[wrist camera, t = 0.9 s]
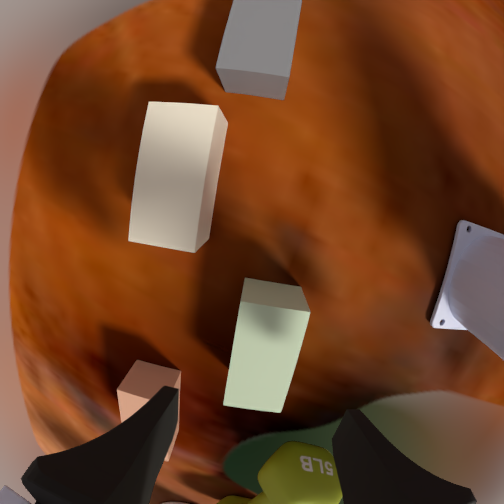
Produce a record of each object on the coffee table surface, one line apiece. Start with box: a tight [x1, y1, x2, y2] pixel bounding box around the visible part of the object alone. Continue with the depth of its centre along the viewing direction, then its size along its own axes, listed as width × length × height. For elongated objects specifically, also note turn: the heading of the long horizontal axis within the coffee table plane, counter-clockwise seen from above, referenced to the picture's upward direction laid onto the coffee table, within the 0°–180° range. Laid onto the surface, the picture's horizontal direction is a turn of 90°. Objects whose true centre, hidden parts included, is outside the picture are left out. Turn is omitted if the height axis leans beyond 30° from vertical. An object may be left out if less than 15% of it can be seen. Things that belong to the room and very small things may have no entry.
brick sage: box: [223, 278, 310, 413], centre depth 17 cm, size 4×7×4 cm, turn 171°
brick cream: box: [128, 102, 228, 253], centre depth 15 cm, size 4×7×4 cm, turn 170°
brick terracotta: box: [117, 360, 181, 461], centre depth 19 cm, size 4×7×4 cm, turn 170°
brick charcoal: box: [216, 0, 302, 100], centre depth 13 cm, size 4×7×4 cm, turn 170°
